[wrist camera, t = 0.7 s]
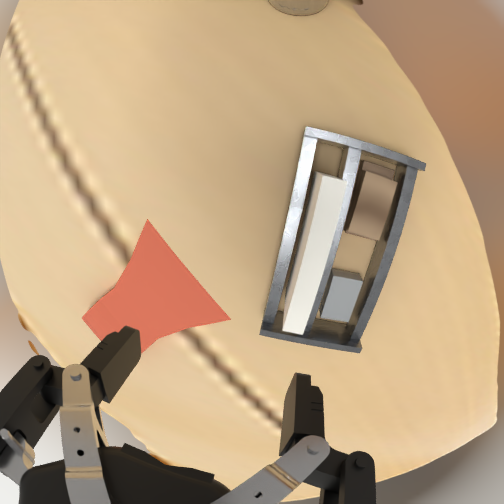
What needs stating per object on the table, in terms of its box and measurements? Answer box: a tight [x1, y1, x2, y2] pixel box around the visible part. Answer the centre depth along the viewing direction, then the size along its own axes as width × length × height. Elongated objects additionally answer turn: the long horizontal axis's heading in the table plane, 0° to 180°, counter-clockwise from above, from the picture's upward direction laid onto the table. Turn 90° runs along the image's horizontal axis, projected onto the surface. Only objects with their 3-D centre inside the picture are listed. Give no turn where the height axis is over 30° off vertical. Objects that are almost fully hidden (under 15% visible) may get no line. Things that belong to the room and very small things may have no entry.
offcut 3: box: [345, 170, 398, 241], centre depth 33 cm, size 8×4×2 cm, turn 167°
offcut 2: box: [343, 160, 394, 241], centre depth 34 cm, size 10×4×2 cm, turn 169°
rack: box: [259, 126, 426, 353], centre depth 35 cm, size 28×15×6 cm, turn 170°
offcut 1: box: [319, 268, 363, 322], centre depth 39 cm, size 7×4×3 cm, turn 171°
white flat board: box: [282, 171, 347, 335], centre depth 33 cm, size 18×2×11 cm, turn 170°
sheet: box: [82, 219, 231, 353], centre depth 45 cm, size 5×30×24 cm
